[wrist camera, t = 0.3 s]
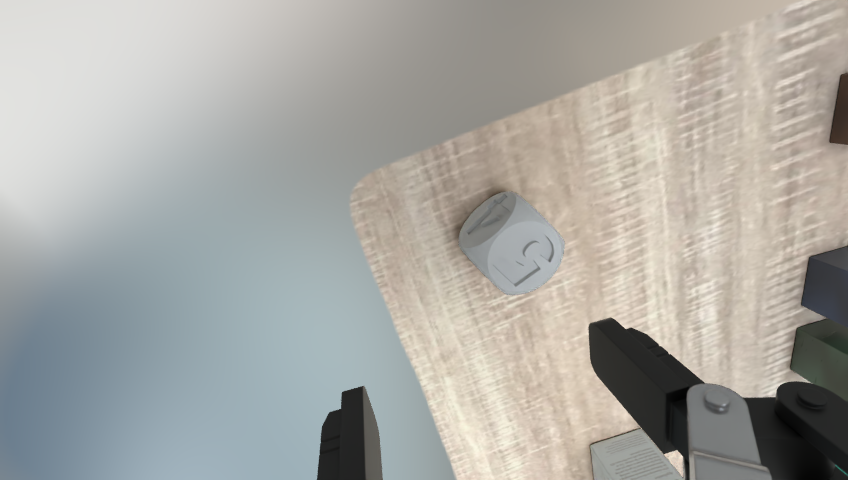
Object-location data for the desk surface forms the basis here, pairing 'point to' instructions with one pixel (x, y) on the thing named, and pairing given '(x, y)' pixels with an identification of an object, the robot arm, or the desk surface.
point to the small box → (631, 459)
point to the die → (512, 244)
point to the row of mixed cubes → (827, 298)
